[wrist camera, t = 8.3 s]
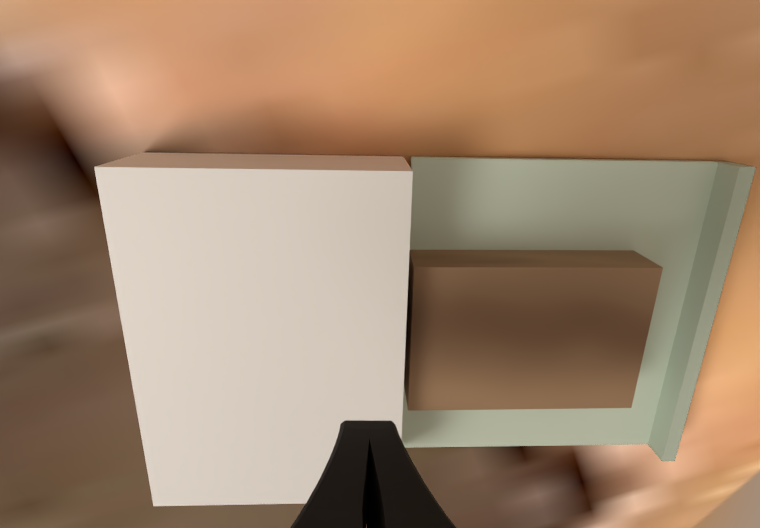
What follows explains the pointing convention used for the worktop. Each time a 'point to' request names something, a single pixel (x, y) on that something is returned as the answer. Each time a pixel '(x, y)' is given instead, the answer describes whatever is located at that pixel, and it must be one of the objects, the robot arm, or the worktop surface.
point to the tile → (526, 328)
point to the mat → (590, 232)
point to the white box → (257, 312)
